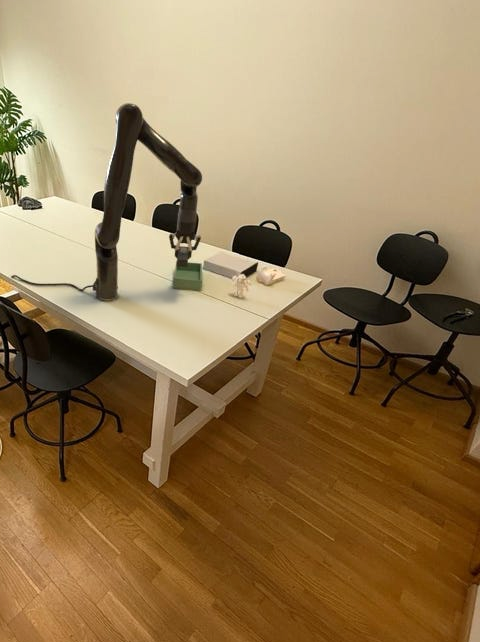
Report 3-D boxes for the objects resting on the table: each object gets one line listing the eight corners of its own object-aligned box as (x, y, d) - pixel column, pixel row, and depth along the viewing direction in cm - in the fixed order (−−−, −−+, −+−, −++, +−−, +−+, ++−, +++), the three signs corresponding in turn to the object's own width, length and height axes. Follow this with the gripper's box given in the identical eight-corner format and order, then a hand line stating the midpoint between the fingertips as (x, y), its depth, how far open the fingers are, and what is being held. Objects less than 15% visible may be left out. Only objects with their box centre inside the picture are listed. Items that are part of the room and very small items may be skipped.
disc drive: (240, 281, 185) (242, 272, 182) (202, 268, 197) (203, 259, 195) (256, 271, 196) (258, 262, 193) (219, 259, 208) (221, 251, 205)
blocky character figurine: (227, 294, 173) (232, 271, 166) (231, 291, 176) (235, 268, 169) (245, 300, 169) (251, 276, 162) (249, 297, 171) (254, 273, 164)
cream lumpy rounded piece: (265, 286, 183) (272, 274, 178) (255, 278, 187) (262, 266, 181) (282, 281, 189) (289, 269, 184) (272, 272, 193) (279, 261, 187)
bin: (173, 288, 178) (174, 278, 175) (175, 270, 195) (176, 261, 192) (200, 290, 176) (202, 280, 173) (200, 272, 193) (201, 263, 190)
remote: (176, 266, 158) (177, 258, 156) (178, 252, 170) (179, 245, 168) (187, 267, 157) (187, 259, 155) (188, 253, 170) (189, 246, 168)
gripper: (204, 217, 156) (199, 256, 165) (170, 215, 157) (167, 253, 167) (204, 223, 149) (198, 262, 159) (169, 220, 151) (165, 260, 161)
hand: (182, 257), depth 163 cm, fingers closed on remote, 4 cm apart
